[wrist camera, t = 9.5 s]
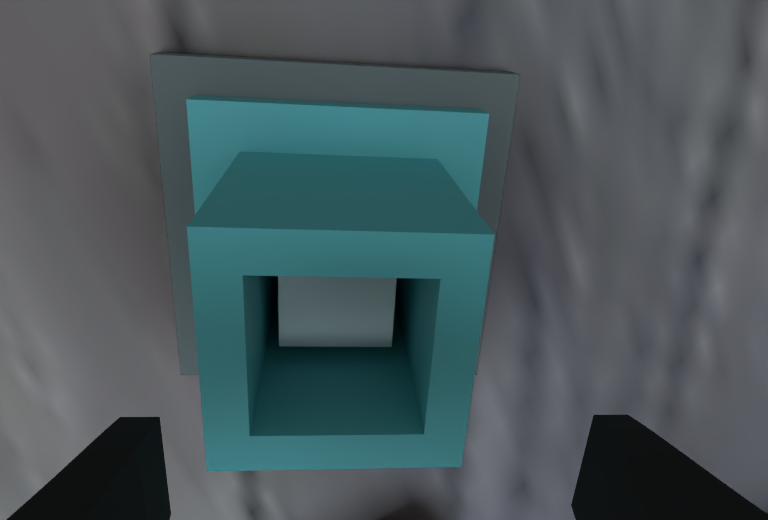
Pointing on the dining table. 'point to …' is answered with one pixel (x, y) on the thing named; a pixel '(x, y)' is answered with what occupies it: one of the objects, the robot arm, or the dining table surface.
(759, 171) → the dining table surface
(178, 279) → the post block
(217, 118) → the flange
